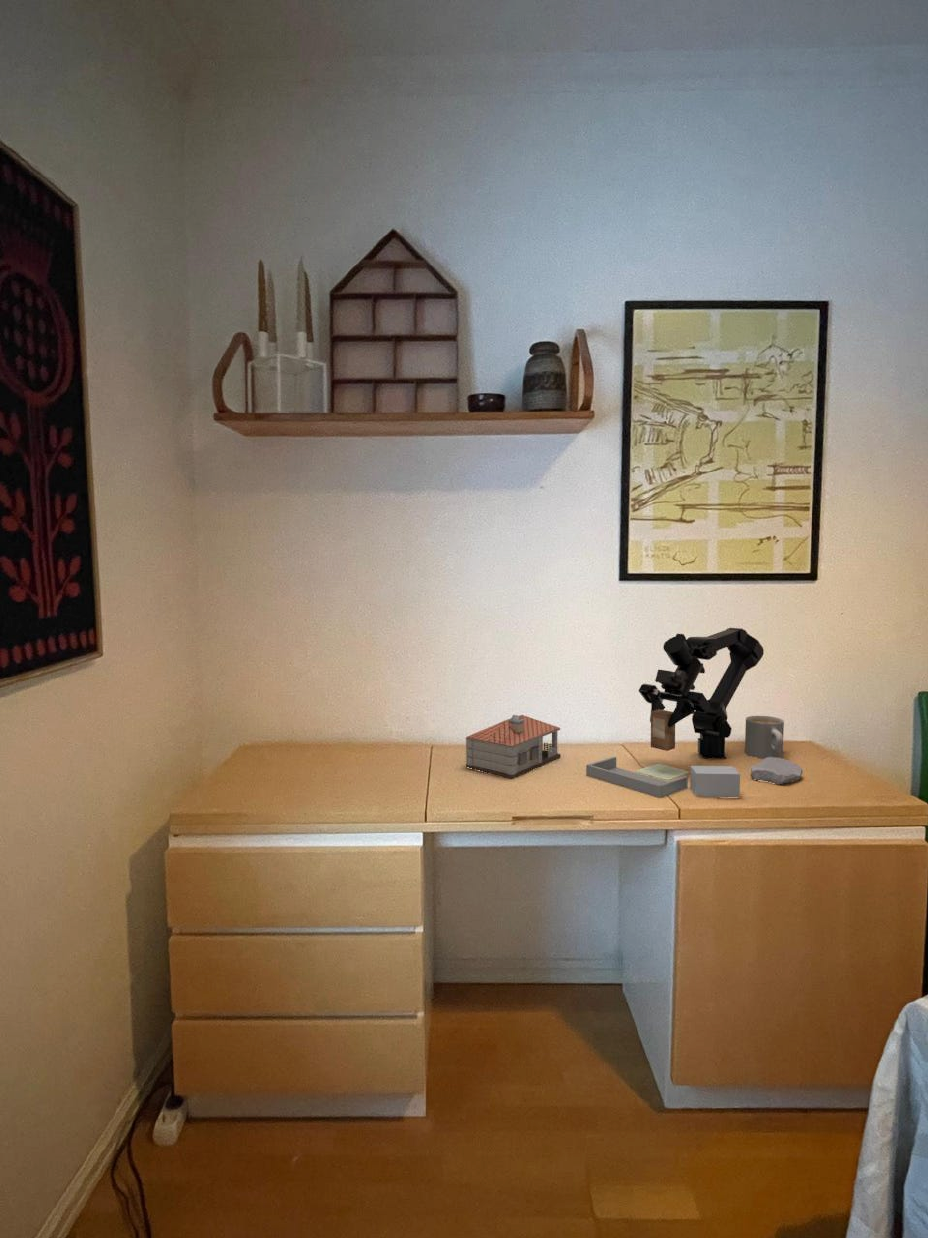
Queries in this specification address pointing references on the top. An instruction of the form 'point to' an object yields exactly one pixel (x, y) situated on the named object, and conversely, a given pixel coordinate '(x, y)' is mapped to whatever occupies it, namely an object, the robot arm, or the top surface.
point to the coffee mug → (764, 736)
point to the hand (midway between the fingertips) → (659, 724)
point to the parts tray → (634, 779)
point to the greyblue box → (715, 781)
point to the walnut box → (662, 730)
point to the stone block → (776, 771)
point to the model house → (512, 747)
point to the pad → (662, 771)
